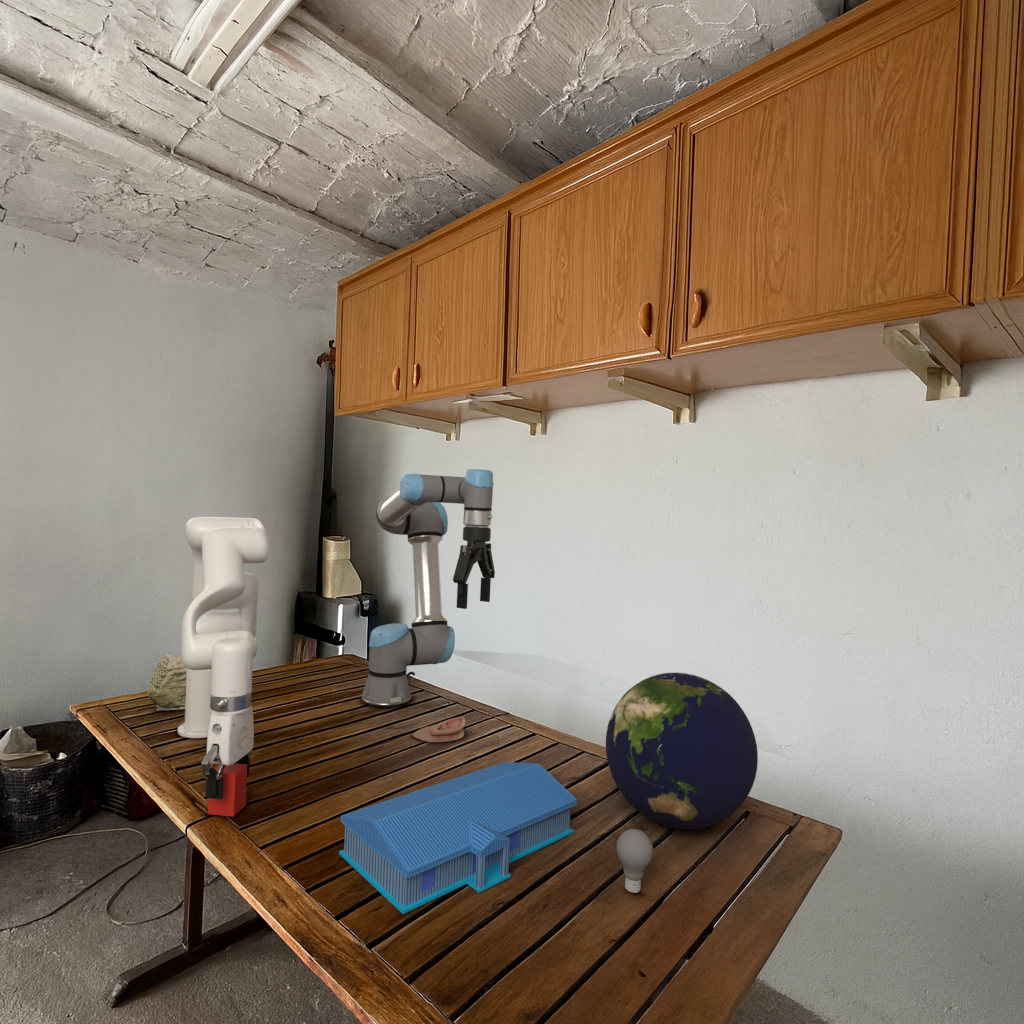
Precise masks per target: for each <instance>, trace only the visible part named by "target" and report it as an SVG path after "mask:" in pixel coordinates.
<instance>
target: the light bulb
mask: <svg viewBox="0 0 1024 1024" xmlns="http://www.w3.org/2000/svg"><path fill="white" fill-rule="evenodd" d="M615 849H616V854H617V857H618V859H619V861H620V863H621V865H622V867H623V873H624V874H623V875H624V876H625V878H624V888H625V890H627V891H628V892H630V893H634V894H635V893H639V892H640V891H641V889H642V887H641V886H642V879H643V877H644V875H645V871H646V868H647V867H648V866H649V864H650V863H651V861H652V859H653V855H654V847H653V843H652V841H651V838H649V836H648V835H647V834H646V833H645V832H643V831H642V830H641V829H636V828H629V829H627V830H625V831H623V832H622V833H621V834H620V835H619V837H618V839H617V841H616V847H615Z"/></svg>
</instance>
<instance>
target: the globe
mask: <svg viewBox="0 0 1024 1024" xmlns="http://www.w3.org/2000/svg"><path fill="white" fill-rule="evenodd" d="M605 755H606V760H607V765H608V769H609V772H610V773H611V774H610V775H611V776H612V779H613V781H614V784H615V786H616V787H617V788H618V790H619V792H620V793H621V795H622V796H623V797H624V799H625V800H626V801H627V802H628V803H629V805H631V806H632V807H633V808H634V809H635V810H636V811H637V812H639V813H640V814H641V815H642V816H643V817H645V818H647V819H649V820H650V821H652V822H654V823H657V824H659V825H661V826H664V827H667V828H670V829H671V828H672V829H677V830H685V831H686V830H687V831H690V830H701V829H706V828H710V827H712V826H715V825H718V824H719V823H721V822H723V821H725V820H726V819H728V818H730V817H731V816H732V815H733V814H735V812H737V811H738V810H739V808H741V806H742V805H743V803H744V802H745V801H746V800H747V798H748V796H749V795H750V793H751V791H752V788H753V786H754V783H755V780H756V776H757V772H758V762H759V761H758V760H759V759H758V758H759V757H758V756H759V754H758V745H757V740H756V736H755V732H754V729H753V727H752V724H751V722H750V720H749V718H748V716H747V715H746V713H745V711H744V710H743V708H742V707H741V706H740V704H739V703H738V702H737V700H735V698H734V697H733V696H732V695H731V694H730V693H729V692H728V691H726V690H725V689H723V688H722V687H721V686H719V685H718V684H716V683H714V682H713V681H710V680H709V679H707V678H704V677H701V676H698V675H696V674H691V673H686V672H679V671H677V672H665V673H658V674H655V675H652V676H649V677H646V678H644V679H643V680H641V681H639V682H637V683H636V684H635V685H633V686H631V687H630V688H629V689H628V690H627V691H626V692H625V693H624V694H623V695H622V696H621V697H620V699H619V700H618V702H617V703H616V704H615V706H614V708H613V710H612V712H611V714H610V717H609V720H608V723H607V728H606V733H605Z"/></svg>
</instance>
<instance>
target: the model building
mask: <svg viewBox="0 0 1024 1024" xmlns="http://www.w3.org/2000/svg"><path fill="white" fill-rule="evenodd" d="M577 805H578V799H577V798H576V797H575V796H574V795H573V794H572V793H571V792H570V791H569V790H568V789H567V788H566V787H565V786H564V785H562V784H561V783H560V781H559V780H557V779H556V778H555V777H554V776H553V775H552V774H551V773H550V772H549V771H548V770H547V769H546V768H544V766H542V765H541V764H540V763H538V762H537V763H535V762H534V763H533V762H510V761H509V762H508V761H502V762H500V763H496V764H494V765H490V766H487V767H485V768H481V769H479V770H476V771H475V770H474V771H472V772H469V773H466V774H463V775H459V776H458V777H454V778H451V779H448V780H444V781H442V782H439V783H436V784H432V785H429V786H427V787H424V788H421V789H417V790H414V791H412V792H409V793H406V794H403V795H399V796H395V797H393V798H391V799H387V800H383V801H382V802H378V803H375V804H372V805H369V806H366V807H362V808H360V809H357V810H353V811H351V812H348V813H345V814H342V815H340V822H341V823H342V825H344V846H343V849H342V850H339V851H338V855H339V856H340V857H341V858H343V859H344V860H345V862H347V864H349V865H350V866H351V867H352V868H353V869H354V870H355V871H357V872H358V873H359V874H360V875H361V876H362V878H364V879H365V881H367V882H368V883H369V884H370V885H371V886H372V887H373V888H374V889H375V890H376V891H377V892H379V893H380V894H381V895H382V896H383V897H384V898H385V899H386V900H387V901H388V902H389V903H390V904H392V906H393V907H395V908H396V909H397V910H398V911H399V912H400V913H401V914H402V915H405V914H407V913H409V912H411V911H413V910H415V909H417V908H419V907H422V906H423V905H426V904H427V903H430V902H432V901H434V900H436V899H439V898H440V897H443V896H444V895H446V894H449V893H451V892H453V891H455V890H457V889H459V888H461V887H463V886H465V885H468V886H469V887H471V888H472V889H473V890H474V891H476V892H477V893H478V894H480V893H483V892H484V891H486V890H489V889H490V888H492V887H494V886H497V885H498V884H500V883H502V882H505V881H506V880H508V879H510V878H511V877H512V874H511V873H509V869H510V868H509V866H510V864H511V863H514V862H515V861H519V860H520V859H521V858H524V857H526V856H528V855H531V854H533V853H535V852H537V851H539V850H541V849H543V848H545V847H547V846H549V845H551V844H553V843H555V842H557V841H560V840H562V839H564V838H566V837H568V836H570V835H573V834H574V833H575V830H574V829H572V827H571V808H573V807H575V806H577Z"/></svg>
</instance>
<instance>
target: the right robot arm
mask: <svg viewBox="0 0 1024 1024" xmlns="http://www.w3.org/2000/svg"><path fill="white" fill-rule="evenodd" d="M398 489H399V490H398V491H396V492H395V493H394V494H393V495H392V496H389V497H385V498H384V499H382V500H381V501H380V502H379V503H378V504H377V505H376V508H375V510H374V518H375V521H376V523H377V524H378V526H379V527H380V528H381V529H382V530H383V531H385V532H388V533H389V534H392V535H398V536H399V535H400V536H407V542H408V543H409V544H410V545H411V546H412V562H413V582H414V583H413V584H414V585H413V586H414V603H415V607H414V608H415V618H414V619H413V620H412V621H411V627H409V625H408V624H406V623H403V622H402V623H401V622H400V623H388V624H383V625H379V626H377V627H374V629H372V630H371V632H370V636H369V643H368V646H369V650H368V651H369V653H368V676H367V679H366V681H365V685H364V687H363V690H362V692H361V703H363V704H364V705H366V706H370V707H374V708H381V709H382V708H384V709H385V708H387V709H388V708H398V707H402V706H405V705H408V704H409V703H411V701H412V691H411V688H410V684H409V680H408V677H410V676H416V673H415V672H414V671H409V672H407V667H410V666H423V665H438V664H444V663H447V662H448V661H450V659H451V658H452V655H453V654H454V650H455V643H456V634H455V630H454V628H453V627H452V626H450V625H449V624H448V619H446V618H445V617H444V615H443V602H442V601H443V600H442V585H441V568H440V550H439V544H440V543H441V542H442V541H443V536H445V535H446V534H447V532H448V525H449V520H448V519H449V518H448V515H447V514H448V513H447V510H446V508H445V506H444V505H443V504H462V505H463V519H462V520H463V522H462V525H464V526H463V529H462V540H463V541H464V542H466V543H467V544H465V545H463V544H461V545H460V548H459V554H458V559H457V562H456V566H455V569H454V573H453V577H452V581H453V583H454V584H457V589H456V609H463V610H467V609H468V593H469V591H468V590H469V583H467V582H468V579H469V577H470V575H471V572H472V570H473V567H474V565H475V564H477V565H478V567H479V570H480V573H481V576H482V577H480V589H479V590H480V592H479V602H484V603H486V602H487V603H490V602H491V584H492V583H491V581H492V579H495V575H496V571H495V564H494V560H493V559H494V558H493V554H492V544H491V537H492V536H491V535H492V529H491V527H490V526H492V519H493V515H492V513H493V512H492V511H493V494H494V493H493V492H494V473H493V471H492V470H491V469H483V468H482V469H479V468H468V469H467V470H466V471H465V476H451V475H435V474H433V475H432V474H422V473H421V474H419V473H406V474H403V475H402V476H401V479H400V481H399V487H398ZM442 503H443V504H442ZM489 542H490V543H489Z"/></svg>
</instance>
